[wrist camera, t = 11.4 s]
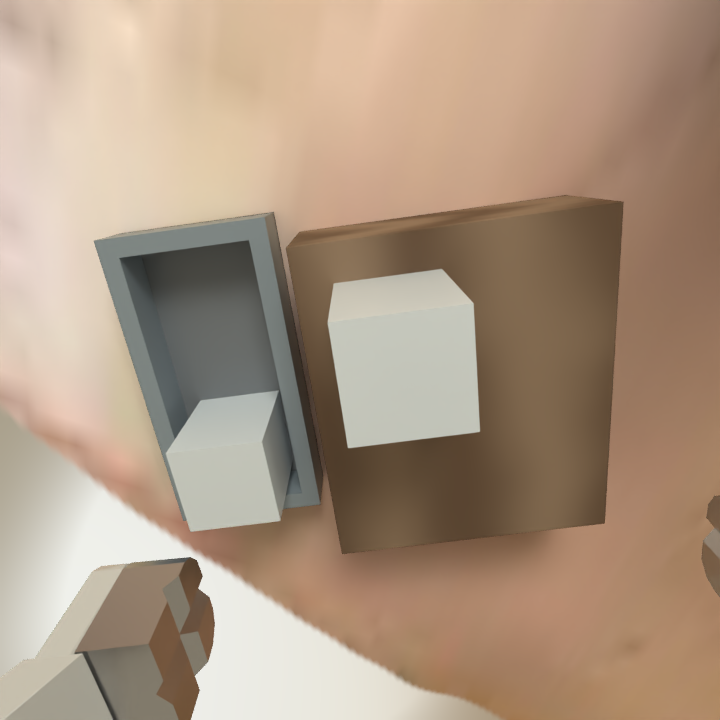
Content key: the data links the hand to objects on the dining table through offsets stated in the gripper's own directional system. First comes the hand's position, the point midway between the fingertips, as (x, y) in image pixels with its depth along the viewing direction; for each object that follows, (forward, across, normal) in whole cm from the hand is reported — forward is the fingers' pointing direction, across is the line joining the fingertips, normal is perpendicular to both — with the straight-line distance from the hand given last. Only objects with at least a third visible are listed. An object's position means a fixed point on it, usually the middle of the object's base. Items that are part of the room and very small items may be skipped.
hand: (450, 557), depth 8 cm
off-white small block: (+16, -8, -6) cm, 19 cm away
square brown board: (+17, +2, -3) cm, 17 cm away
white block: (+12, 0, 0) cm, 12 cm away
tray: (+17, -8, -2) cm, 19 cm away
